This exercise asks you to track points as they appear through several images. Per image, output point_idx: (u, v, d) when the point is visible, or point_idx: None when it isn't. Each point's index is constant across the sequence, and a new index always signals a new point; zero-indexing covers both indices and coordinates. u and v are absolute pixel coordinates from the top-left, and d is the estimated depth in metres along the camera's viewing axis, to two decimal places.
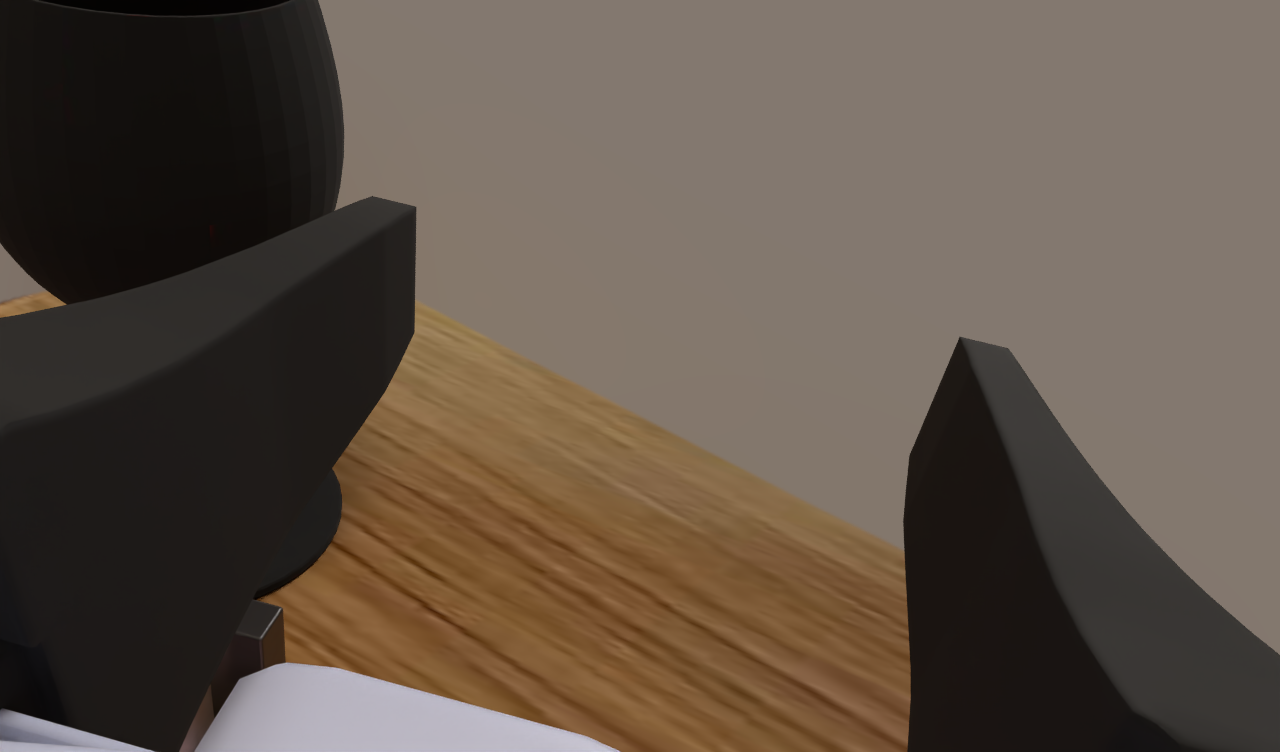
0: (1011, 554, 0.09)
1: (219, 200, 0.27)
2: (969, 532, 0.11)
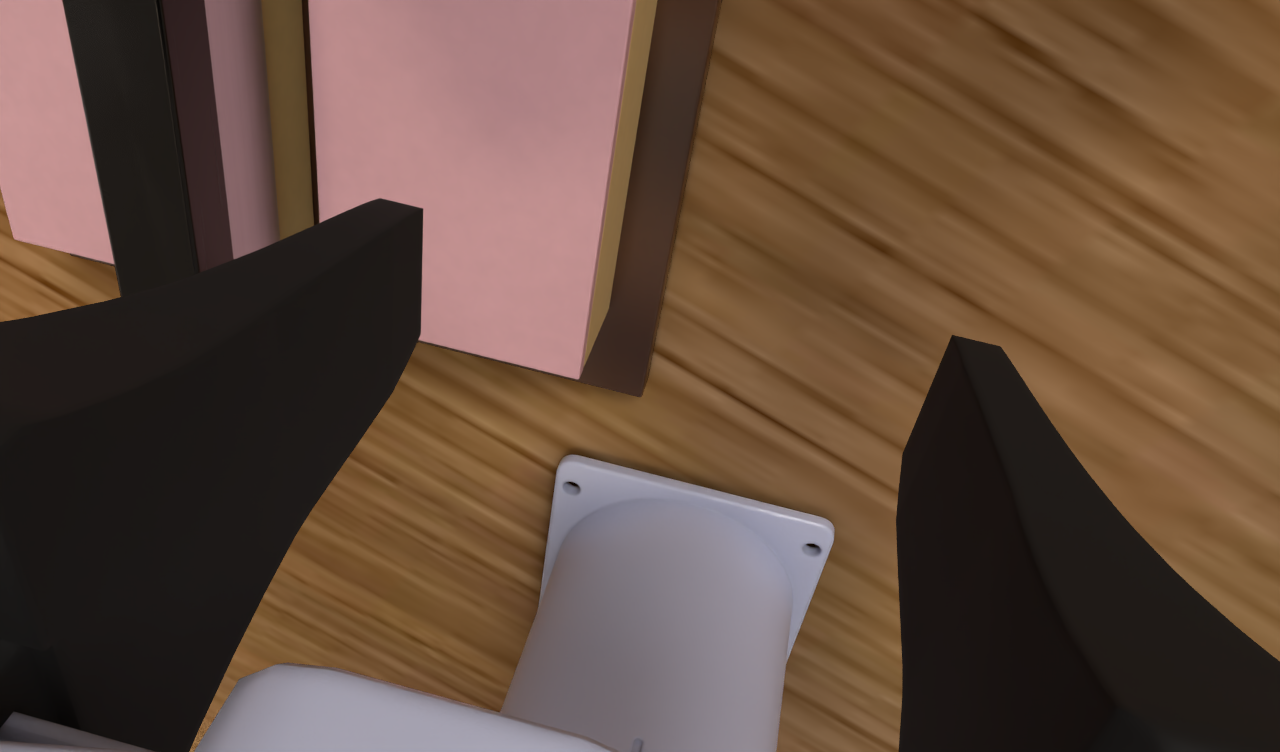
0: (1001, 552, 0.09)
1: None
2: (960, 531, 0.11)
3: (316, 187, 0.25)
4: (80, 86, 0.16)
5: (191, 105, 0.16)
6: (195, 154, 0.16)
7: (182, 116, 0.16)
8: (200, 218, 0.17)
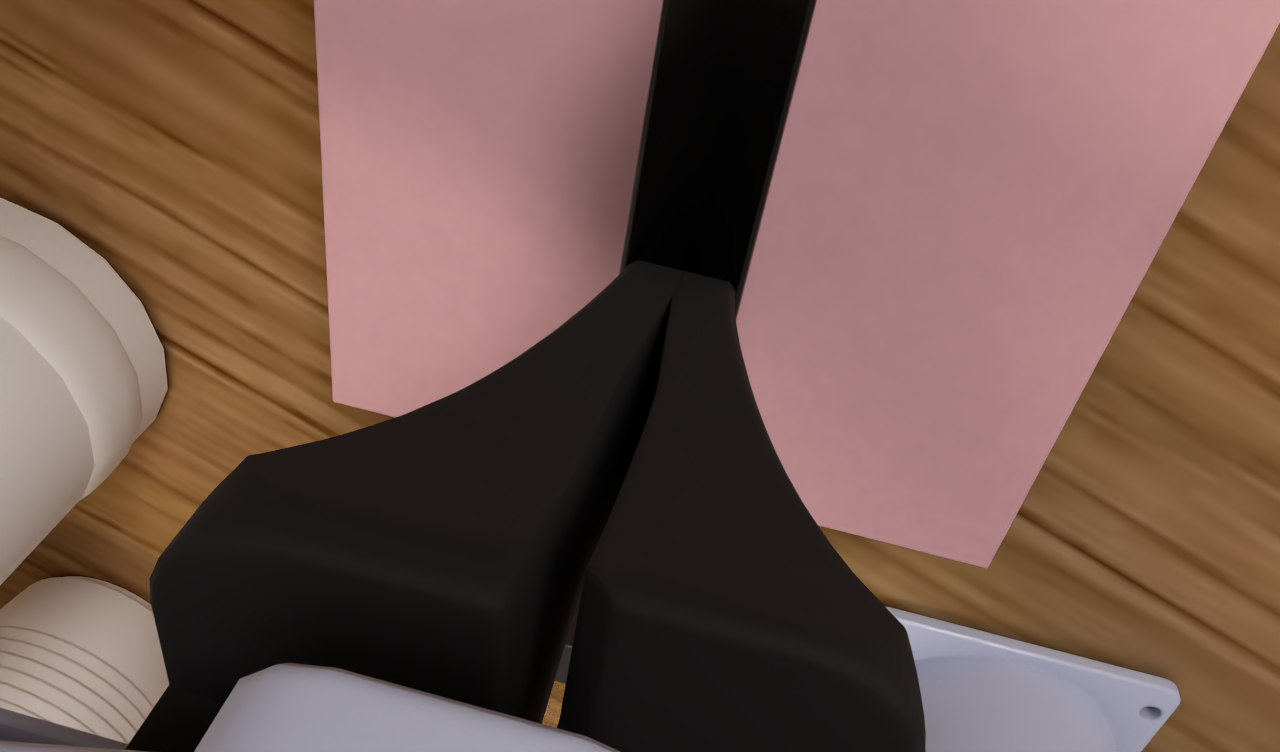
0: None
1: None
2: None
3: None
4: None
5: None
6: None
7: None
8: None
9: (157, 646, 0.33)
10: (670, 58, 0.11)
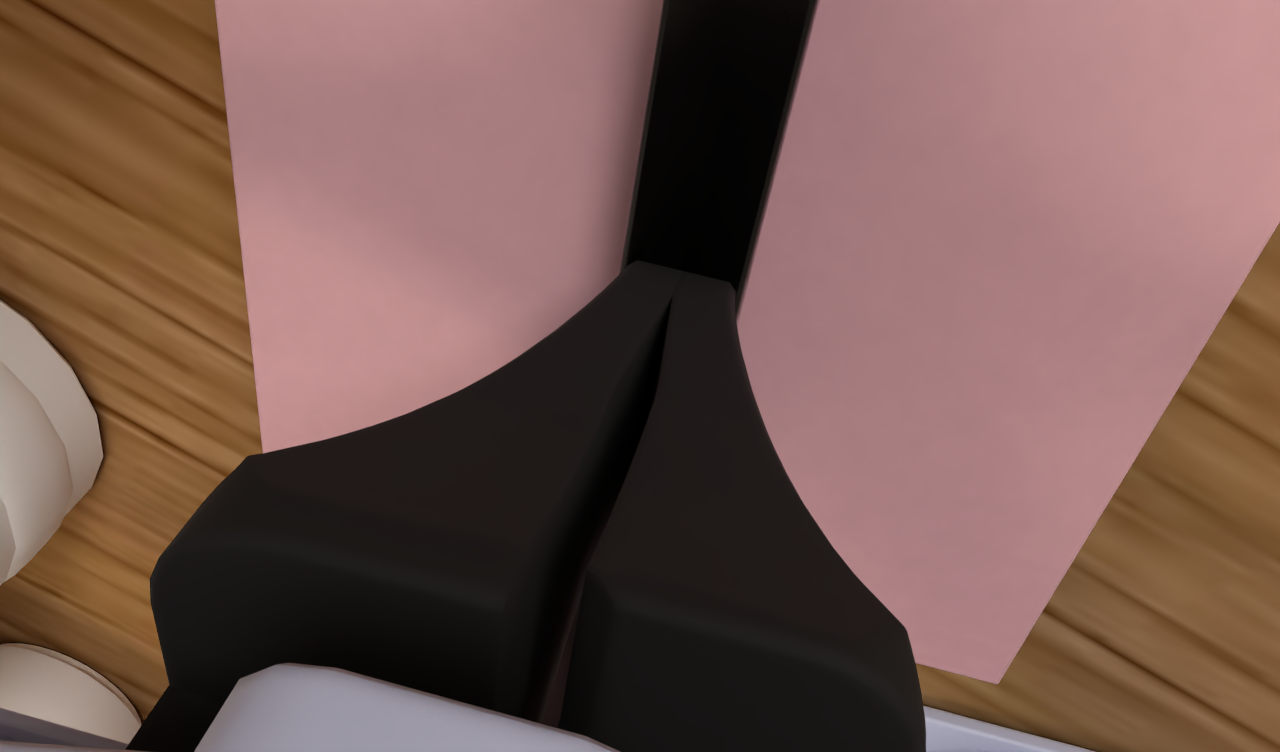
0: None
1: None
2: None
3: None
4: None
5: None
6: None
7: None
8: None
9: (103, 720, 0.30)
10: (671, 58, 0.11)
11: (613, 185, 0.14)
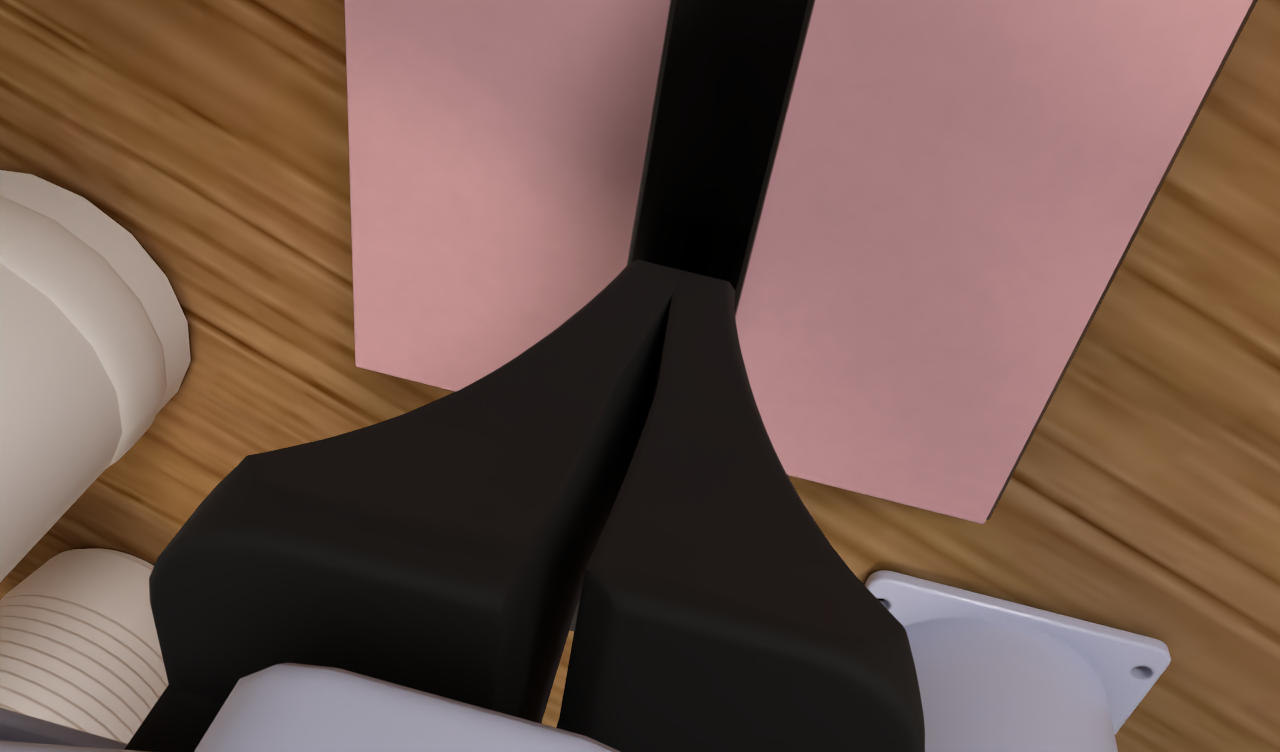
0: None
1: None
2: None
3: None
4: None
5: None
6: None
7: None
8: None
9: None
10: (682, 33, 0.12)
11: None
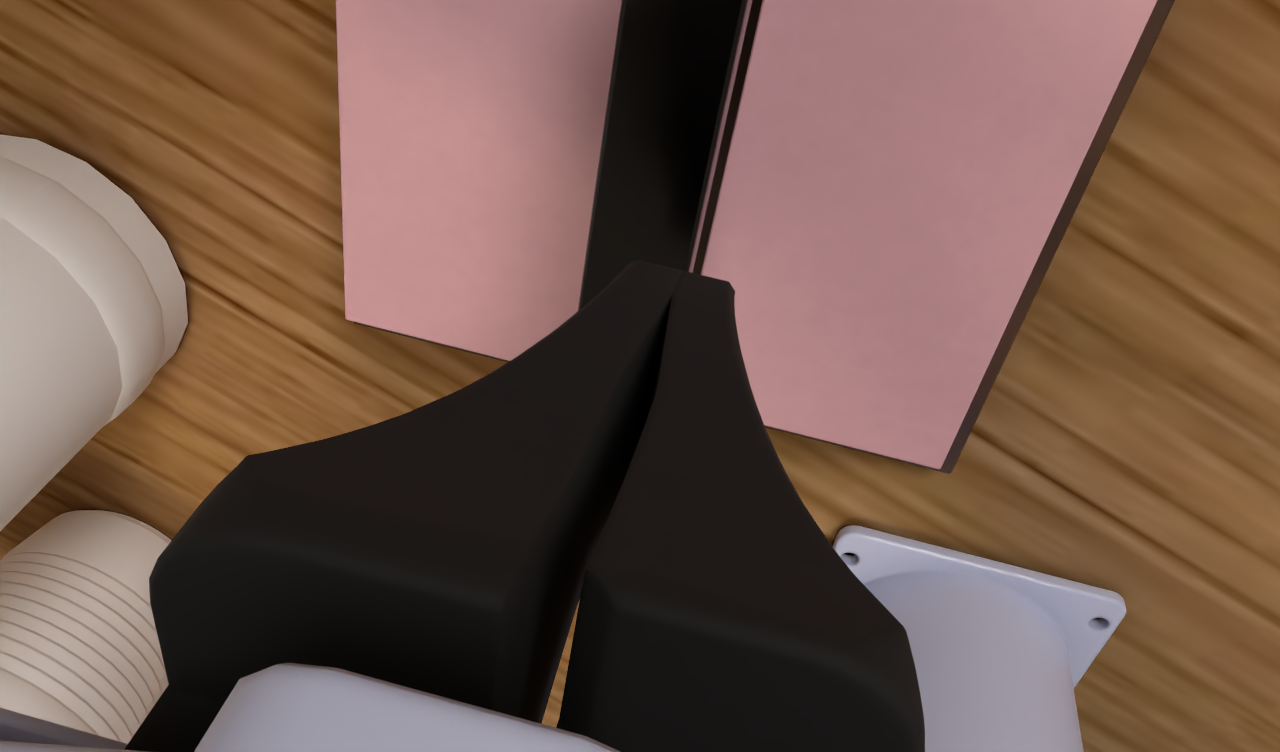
0: None
1: None
2: None
3: None
4: (594, 207, 0.15)
5: (700, 225, 0.15)
6: None
7: None
8: None
9: None
10: None
11: None
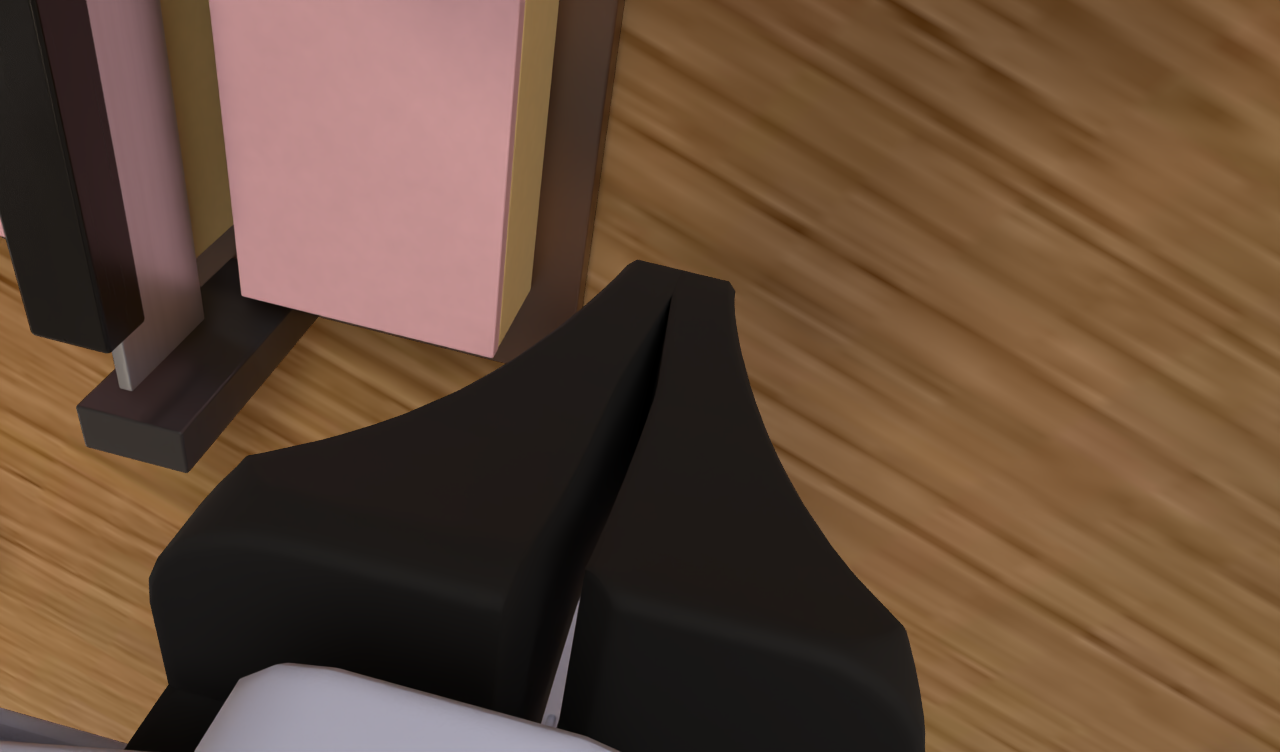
0: None
1: None
2: None
3: None
4: None
5: (70, 78, 0.16)
6: (78, 127, 0.17)
7: (60, 89, 0.16)
8: (87, 192, 0.17)
9: None
10: None
11: None
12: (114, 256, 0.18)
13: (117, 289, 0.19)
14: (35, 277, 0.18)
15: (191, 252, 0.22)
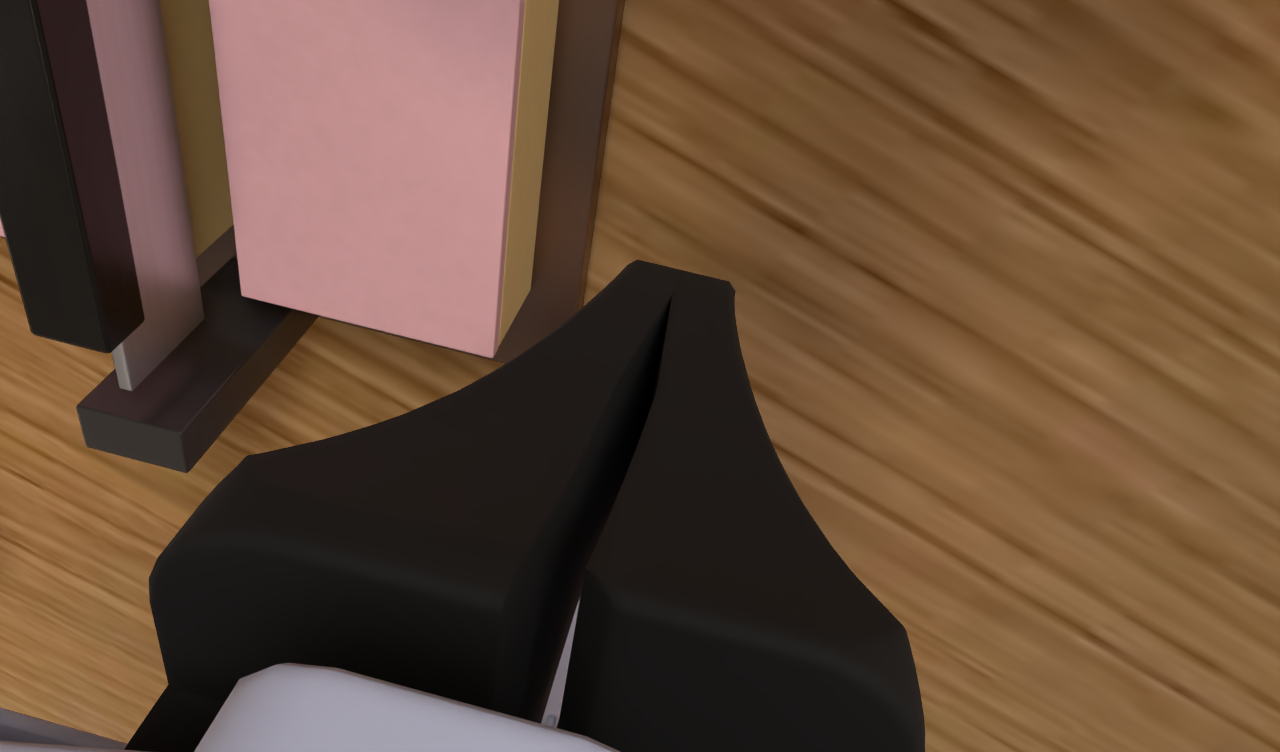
0: None
1: None
2: None
3: None
4: None
5: (70, 78, 0.16)
6: (78, 127, 0.17)
7: (60, 89, 0.16)
8: (87, 192, 0.17)
9: None
10: None
11: None
12: (114, 256, 0.18)
13: (117, 289, 0.19)
14: (35, 277, 0.18)
15: (191, 252, 0.22)
